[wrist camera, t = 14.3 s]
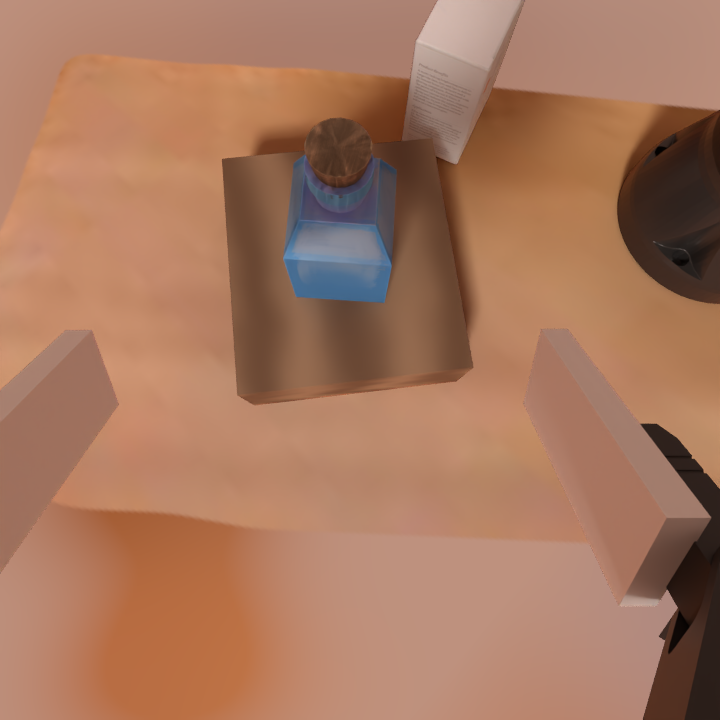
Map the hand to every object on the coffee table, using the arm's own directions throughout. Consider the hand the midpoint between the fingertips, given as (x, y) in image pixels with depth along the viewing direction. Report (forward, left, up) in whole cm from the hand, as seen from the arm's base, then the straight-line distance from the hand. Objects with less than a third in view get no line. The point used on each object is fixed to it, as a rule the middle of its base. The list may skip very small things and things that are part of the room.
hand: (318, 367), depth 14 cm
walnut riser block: (0, -12, -23) cm, 26 cm away
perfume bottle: (0, -11, -17) cm, 21 cm away
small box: (-9, -28, -23) cm, 37 cm away
